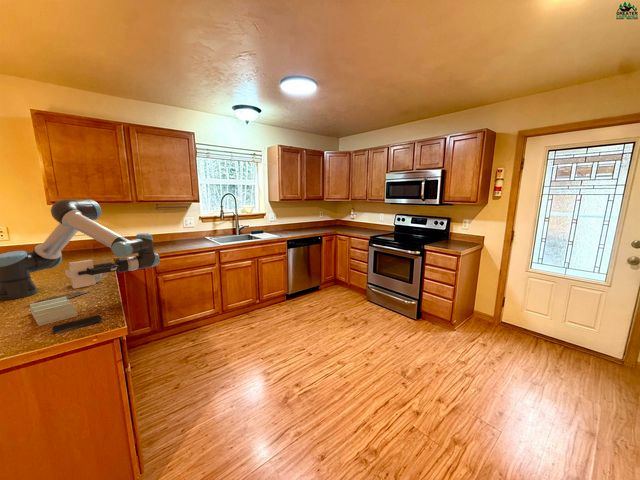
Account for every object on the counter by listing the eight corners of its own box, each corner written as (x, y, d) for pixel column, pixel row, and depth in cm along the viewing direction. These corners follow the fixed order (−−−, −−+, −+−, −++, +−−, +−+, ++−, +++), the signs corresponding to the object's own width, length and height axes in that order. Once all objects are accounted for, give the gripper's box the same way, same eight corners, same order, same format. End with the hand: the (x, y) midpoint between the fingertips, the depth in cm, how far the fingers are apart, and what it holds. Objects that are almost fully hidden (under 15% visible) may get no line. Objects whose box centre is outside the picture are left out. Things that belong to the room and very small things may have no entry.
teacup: (75, 287, 153) (73, 274, 152) (79, 282, 163) (77, 269, 162) (107, 283, 162) (106, 270, 160) (109, 278, 172) (108, 266, 170)
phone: (102, 320, 112) (52, 333, 101) (102, 322, 112) (53, 335, 101) (99, 314, 117) (52, 326, 106) (99, 317, 117) (52, 328, 106)
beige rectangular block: (72, 287, 123) (68, 262, 121) (93, 282, 130) (90, 259, 128) (74, 288, 121) (70, 263, 119) (95, 284, 128) (92, 260, 126)
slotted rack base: (31, 313, 119) (29, 304, 118) (67, 305, 129) (65, 296, 128) (38, 326, 107) (37, 316, 107) (77, 315, 117) (76, 306, 116)
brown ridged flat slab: (86, 290, 150) (86, 288, 150) (93, 294, 144) (93, 292, 144) (19, 305, 128) (19, 303, 128) (24, 310, 123) (23, 308, 122)
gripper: (133, 273, 135) (72, 285, 116) (121, 268, 144) (63, 278, 125) (131, 259, 133) (70, 269, 115) (120, 255, 143) (61, 263, 124)
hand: (66, 274), depth 120 cm, fingers closed on beige rectangular block, 3 cm apart
